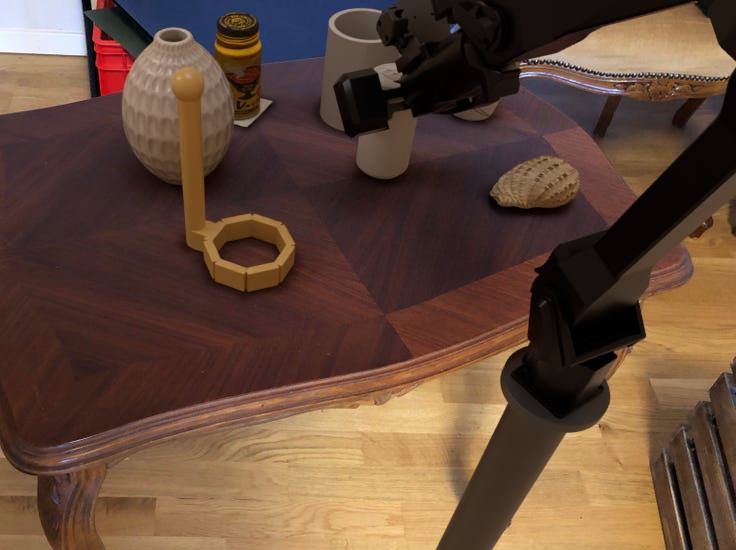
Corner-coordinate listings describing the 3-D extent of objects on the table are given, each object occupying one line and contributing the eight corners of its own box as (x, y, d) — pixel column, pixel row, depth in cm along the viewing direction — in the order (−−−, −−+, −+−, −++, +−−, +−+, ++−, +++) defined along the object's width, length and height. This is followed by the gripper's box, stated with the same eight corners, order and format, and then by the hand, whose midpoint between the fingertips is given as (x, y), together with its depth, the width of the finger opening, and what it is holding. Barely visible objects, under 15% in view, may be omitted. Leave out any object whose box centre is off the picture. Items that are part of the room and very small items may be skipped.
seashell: (528, 246, 84) (591, 190, 84) (528, 217, 78) (595, 158, 79) (480, 211, 88) (540, 158, 88) (477, 182, 82) (541, 125, 83)
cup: (385, 136, 93) (402, 46, 84) (316, 128, 94) (325, 38, 84) (388, 99, 99) (404, 12, 89) (323, 93, 99) (332, 5, 90)
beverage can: (387, 189, 85) (405, 95, 76) (344, 167, 88) (356, 75, 78) (416, 166, 88) (437, 73, 79) (374, 146, 91) (389, 55, 82)
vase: (247, 193, 84) (249, 57, 72) (140, 210, 82) (122, 72, 69) (220, 134, 92) (217, 2, 79) (121, 148, 90) (102, 14, 77)
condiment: (247, 128, 93) (248, 38, 84) (192, 110, 96) (187, 21, 87) (272, 103, 97) (276, 14, 88) (219, 86, 100) (217, -2, 91)
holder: (304, 248, 78) (321, 76, 63) (269, 301, 73) (278, 127, 58) (204, 214, 82) (197, 43, 66) (163, 262, 76) (145, 89, 61)
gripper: (518, -34, 70) (434, 30, 85) (353, -5, 65) (294, 58, 80) (543, 79, 72) (456, 123, 87) (383, 116, 67) (319, 156, 81)
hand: (383, 113), depth 84 cm, fingers closed on beverage can, 6 cm apart
